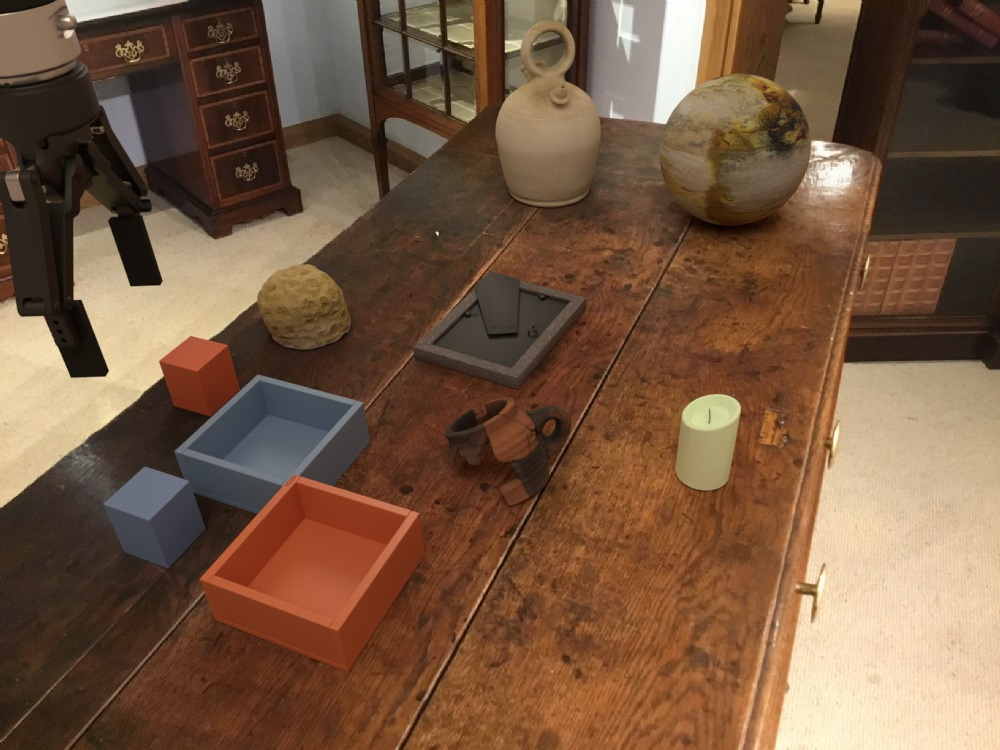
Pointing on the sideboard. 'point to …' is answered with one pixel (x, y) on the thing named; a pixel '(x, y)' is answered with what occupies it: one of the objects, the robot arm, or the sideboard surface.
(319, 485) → the rust bin
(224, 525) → the sideboard surface
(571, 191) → the jug
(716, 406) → the candle
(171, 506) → the slate block
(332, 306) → the rock
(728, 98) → the decorative sphere
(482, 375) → the picture frame
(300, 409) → the slate bin
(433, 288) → the sideboard surface
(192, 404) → the rust block
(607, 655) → the sideboard surface
